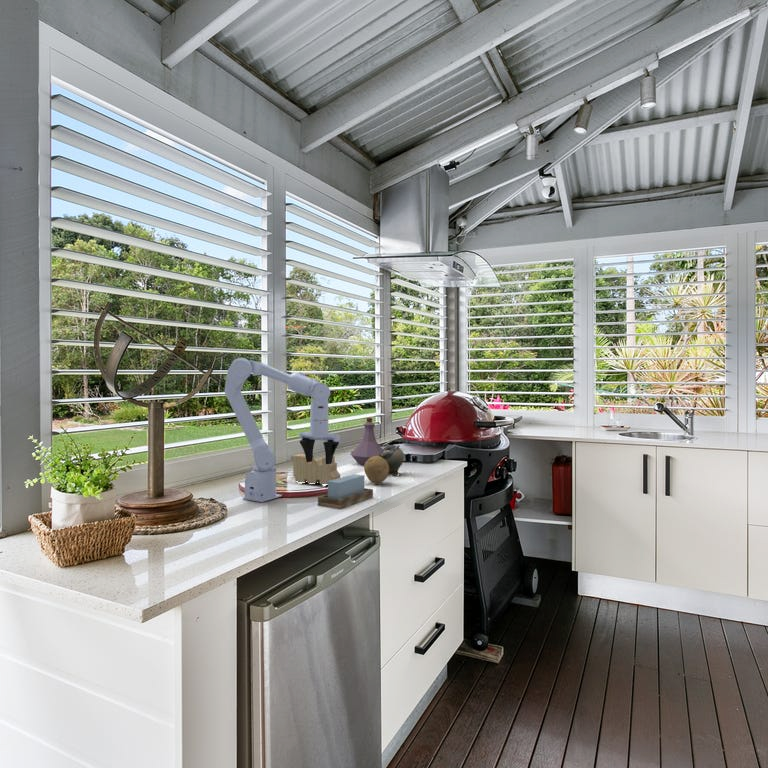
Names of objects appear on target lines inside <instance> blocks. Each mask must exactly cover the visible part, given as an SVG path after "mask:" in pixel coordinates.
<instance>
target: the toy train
mask: <svg viewBox="0 0 768 768" xmlns="http://www.w3.org/2000/svg"><path fill="white" fill-rule="evenodd" d="M290 460H291V461H292V463H293V464H292V465H293V468H292V469H293V471H292V475H293V477H294V480H295V482H296V481H298V482H306V481H307V483H308V484H309V483H317V482H320V483H319V484H320V485H321V484H328V481H331V480H334V479H338V478H342V477H341V473H340V472H339V471H338V467H337V466H338V463H337V462H336V461H335V456H334V455H333V459H332V463H331V464H326V459H325V456H324V457H321V458H317V459H316V458H315V455H314V454H313V460H312V461H311V462H307V461H306V456H305V453H298V454H294V455H291V456H290ZM317 484H318V483H317Z"/></svg>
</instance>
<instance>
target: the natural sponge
mask: <svg viewBox="0 0 768 768" xmlns="http://www.w3.org/2000/svg"><path fill="white" fill-rule="evenodd" d="M363 469H364V473H365V474H364V475H365V476H366V477H367V479H368V480H369V481H370V483H372V484H373V485H379V484H381V483H383V482H384V481H386V479H388V477H389V476H388V473H389V465H388V463H387V461H386V460H385V459H384V458H382V457H380V456H373V457H371V458H369V459H368V460H367V461H366V463H365V465H364V466H363Z"/></svg>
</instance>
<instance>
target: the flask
mask: <svg viewBox="0 0 768 768" xmlns="http://www.w3.org/2000/svg"><path fill="white" fill-rule="evenodd" d="M363 426H364V434H363V437H362V440H361V442H359V444H358V445H357V447H355V448H354V449H353V451H352V452H350V455H351V456H352V458H353V459H354V460H355V462H356V463H357V464H358V465H360V466H362V465H365V463H366V461H367V460H368V459H369V458H371V457H373V456H379V454H380V452H381V451H382V450H383V449H384V448H382V447H381V445H380V444H379V443H378V442H377V439H376V436H375V430H374V429H375V423H374V422H373V417H366V422H365V423H363Z"/></svg>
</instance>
